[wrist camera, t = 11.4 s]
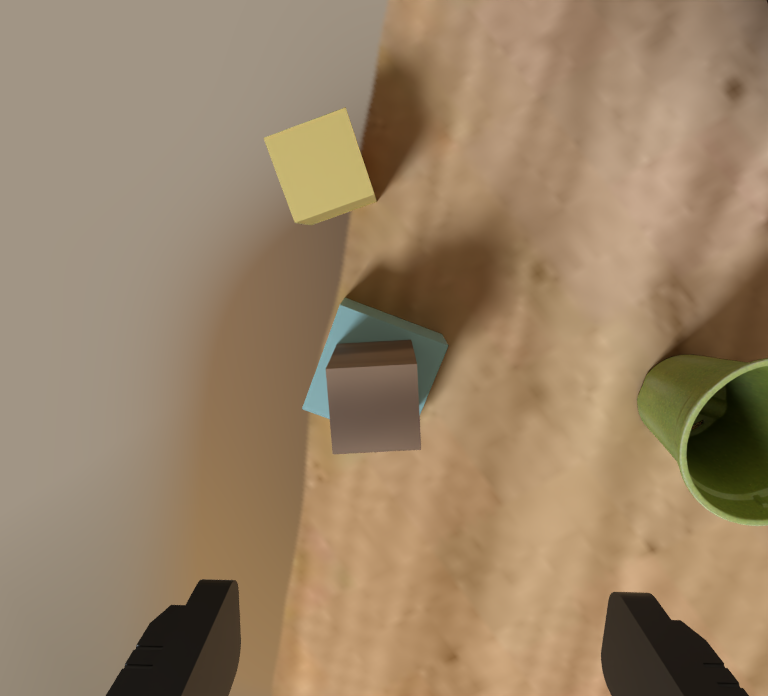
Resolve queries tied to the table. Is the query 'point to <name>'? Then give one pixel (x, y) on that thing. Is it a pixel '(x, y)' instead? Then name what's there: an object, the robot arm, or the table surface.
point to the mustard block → (321, 168)
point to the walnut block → (373, 397)
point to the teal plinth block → (371, 327)
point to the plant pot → (714, 430)
